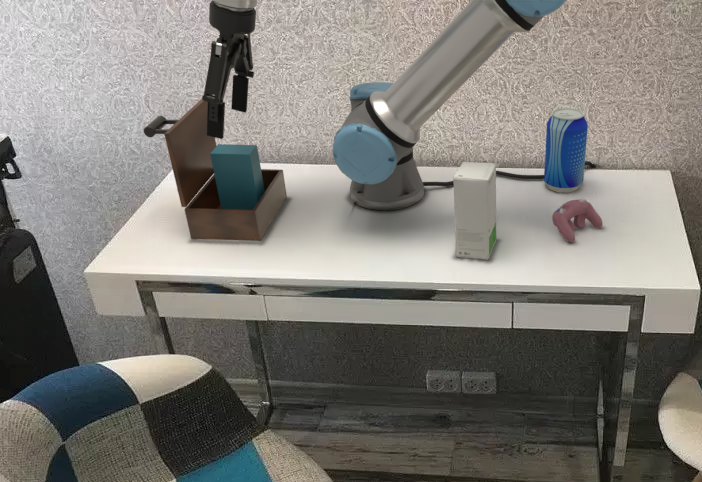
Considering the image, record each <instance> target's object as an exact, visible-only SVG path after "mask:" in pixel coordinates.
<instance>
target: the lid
mask: <svg viewBox="0 0 702 482" xmlns="http://www.w3.org/2000/svg"><path fill="white" fill-rule="evenodd" d="M207 112H208V102H206V101H203V100H202V98H201V99H200V100H198V101H197V102H196V103H195V104H194V105H193V106H192V107H191V108H189V110H187V112H185V114H183V115H182V116H181V117H180V118H179V119H167V118H166V117H165V116H163V115H158V116H156V117H155V118H154V119H153V120H152V121H151V122H150V123H149V124H147V125H146V126H145V127H144V128H143V134H144V135H145V136H146V137H148V138H153V137H155V136H156V135H164V139H165V142H166V148H167V151H168V155H169V159H170V164H171V169H172V172H173V176H174V181H175V185H176V189H177V193H178V197H179V201H180V206H181V208H186V207H187V206H188V205H189V203H190V202H191V201H192V200H193V199H194V197H195V196H196V195H197V194H198V193H199V191H200V190H201V189H202V188H203V187H204V185H205V184H206V183H207V182H208V181H209V179H210V178H211V177H212V176H213V175H214V170H213V165H212V160H211V156H210V153H211V152H212V151H213V150H214V148H215V147H216V146H217V141H216V138H215V137H211V136H207ZM167 125H171V127H170V128H169V129H168V128H165V127H166V126H167ZM164 128H165V129H164Z"/></svg>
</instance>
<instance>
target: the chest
mask: <svg viewBox="0 0 702 482" xmlns="http://www.w3.org/2000/svg"><path fill="white" fill-rule="evenodd" d="M261 172H262V178H263V184H264V190H265V193H264V194H263V196H262V197H261V199H260V200H259V202H258V203H257V205H256V206H255V208H254V209H253V210H232V209H221V204H220V199H219V194H218V190H217V185H216V180H215V175H214V174H213V175H212V176H211V178H210V179H209V180H208V181H207V182H206V184H205V185H204V186H203V187H202V188H201V190H200V191H199V192H198V193H197V194H196V196H195V197H194V198H193V199H192V200H191V202H190V203H189V204H188V205H187V206H186V207H184V214H185V218H186V222H187V226H188V230H189V235H190V239H192V240H216V241H217V240H218V241H219V240H220V241H221V240H223V241H252V242H253V241H254V242H256V241H257V242H261V241H262V238H263V237H264V236H265V234H266V233H267V231H268V229H269V228H270V226H271V224H272V223H273V220H275V217H276V216H277V214H278V213H279V211H280V210H281V208H282V206H283V204H284V203H285V202H286V200H287V198H288V195H287V188H286V181H285V174H284V169H277V168H276V169H273V168H271V169H270V168H261Z"/></svg>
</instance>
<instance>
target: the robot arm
mask: <svg viewBox="0 0 702 482" xmlns="http://www.w3.org/2000/svg"><path fill="white" fill-rule="evenodd" d="M566 1H567V0H470V1H469V2H468V3H467V4H466V5H465V6H464V8H462V9H461V11H460V12H458V14H457V15H456V16H454V18H453V19H452V20H451V21H450V23H448V24H447V25H446V27H444V29H443V30H442V31H441V32H440V33H439V34H438V35H437V36H436V38H434V39H433V41H431V43H429V45H428V46H427V47H426V48H425V49H424V50H423V51H422V52H421V53H420V54H419V55H418V56H417V57H416V58H415V59H414V60H413V62H411V64H410V65H409V66H408V67H407V68H406V69H405V70H404V72H403V73H401V74H400V75H399V76H398V77H397V79H396V80H395V81H394V82H383V81H381V82H379V81H378V82H365V83H359V84H356V85H353V86H352V87H351V88H350V89H349V90H350V92H349V98H348V99H349V102H350V112H349V113H348V115H347V116H346V119H345V120H344V121H343V123H342V125H341V126H340V128H339V129H337V131H336V133H335V135H334V138H333V143H332V157H333V160H334V163H335V164H336V166H337V168H338V169H339V171H340V173H342V174H343V175H344V176H346V177H347V178H348V179H349V180H351V182H350V186H349V192H350V198H351V199H352V201H354V204H355V205H357V206H359V207H362V208H365V209H367V210H368V209H369V210H373V211H374V210H376V211H392V210H393V211H394V210H400V209H404V208H408V207H411V206H413V205H415V204H417V203H418V202H420V201H421V200H422V199H423V197H424V194H425V191H424V190H425V187H450V186H454V182H453V180H449V181H423V180H422V176H421V175H420V172H419V169H418V167H417V165H416V161H415V159H414V147H415V146H416V144H417V143H418V142H419V141H420V140H421V128H422V127H423V125H424V124H425V123H426V122H427V121H429V119H430V118H431V117H432V116H433V115H434V114H435V113H436V112H437V111H438V110H439V109H440V108H441V107H442V106H443V105H444V104H445V103H446V102H447V101H448V100H449V99H450V98H451V97H452V96H453V95H454V94H455V93H456V92H457V91H459V89H460V88H461V87H462V86H463V85H464V84H465V83H466V82H467V81H468V80H469V79H470V78H471V77H472V76H473V75H474V74H475V73H476V72H477V71H478V70H479V69H480V68H481V67H482V66H483V65H484V64H485V63H486V62H487V61H488V60H489V59H490V58H491V57H492V56H493V55H494V54H495V53H496V52H497V51H498V50H499V49H500V48H501V47H502V46H503V45H504V44H505V43H506V42H507V41H508V40H509V39H510V38H511V37H512V36H513V35H514V34H516V33H529V32H531V30H532V29H534V27H535V26H536V25H538V23H540V21H541V20H542V19H543V18H544V17H545V16H548V15H551V14H552V13H555V12H556V11H557V10H559V9H560V8H561V7H562V6H563V5H564V4H565V3H566ZM208 6H209V9H208V10H209V11H208V23H209V24H210V26H211V27H212V28H213V29H216V30H217V32H219V34H218V37H217V38H216V40H212V41H211V44H210V46H211V47H210V58H209V62H208V68H207V73H206V79H205V85H204V91H203V94H202V95H201V99H202V100H203V101H206V102H208V112H207V136H211V137H215V139H219V140H223V139H224V136H225V134H224V133H225V112H226V111H225V110H226V102H224V99H225V96H226V92H227V87H228V83H229V79H230V75H231V72H232V69H233V70H234V74H233V75H232V89H231V90H232V91H231V107H230V108H231V110H233V111H237V112H241V113H247V112H248V98H249V97H248V96H249V83H250V82H249V81H250V78H252V79H253V78H254V76H255V71H253V69H254V61H253V52H252V42H251V34H252V33H254V32H255V30H256V21H257V10H256V9H255V8H256V7H257V6H258V0H211V1H210V2H209V5H208ZM591 162H592V161H591V160H590V161H589V160H585V166H589V167H591V168H596V167H597V165H596V164H595V163H594V162H592V163H593V164H592V163H591ZM496 176H500V177H507V178H512V179H516V180H517V179H518V180H544V174H518V173H512V172H507V171H502V170H496Z"/></svg>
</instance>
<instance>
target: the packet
mask: <svg viewBox="0 0 702 482" xmlns="http://www.w3.org/2000/svg"><path fill="white" fill-rule="evenodd" d="M210 156H211V160H212V165H213V170H214V174H213V175H215V180H216V185H217V190H218V194H219V199H220V204H221V209H232V210H253V209H254V208H255V206H256V205H257V203H258V202H259V200H260V199H261V197H262V196H263V194H264V193H265V190H264V184H263V178H262V172H261V169H262V166H261V160H260V154H259V149H258V145H257V144H229V143H228V144H225V143H218V144H216V147H215V148H214V150H213V151H212V152H211V153H210Z"/></svg>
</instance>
